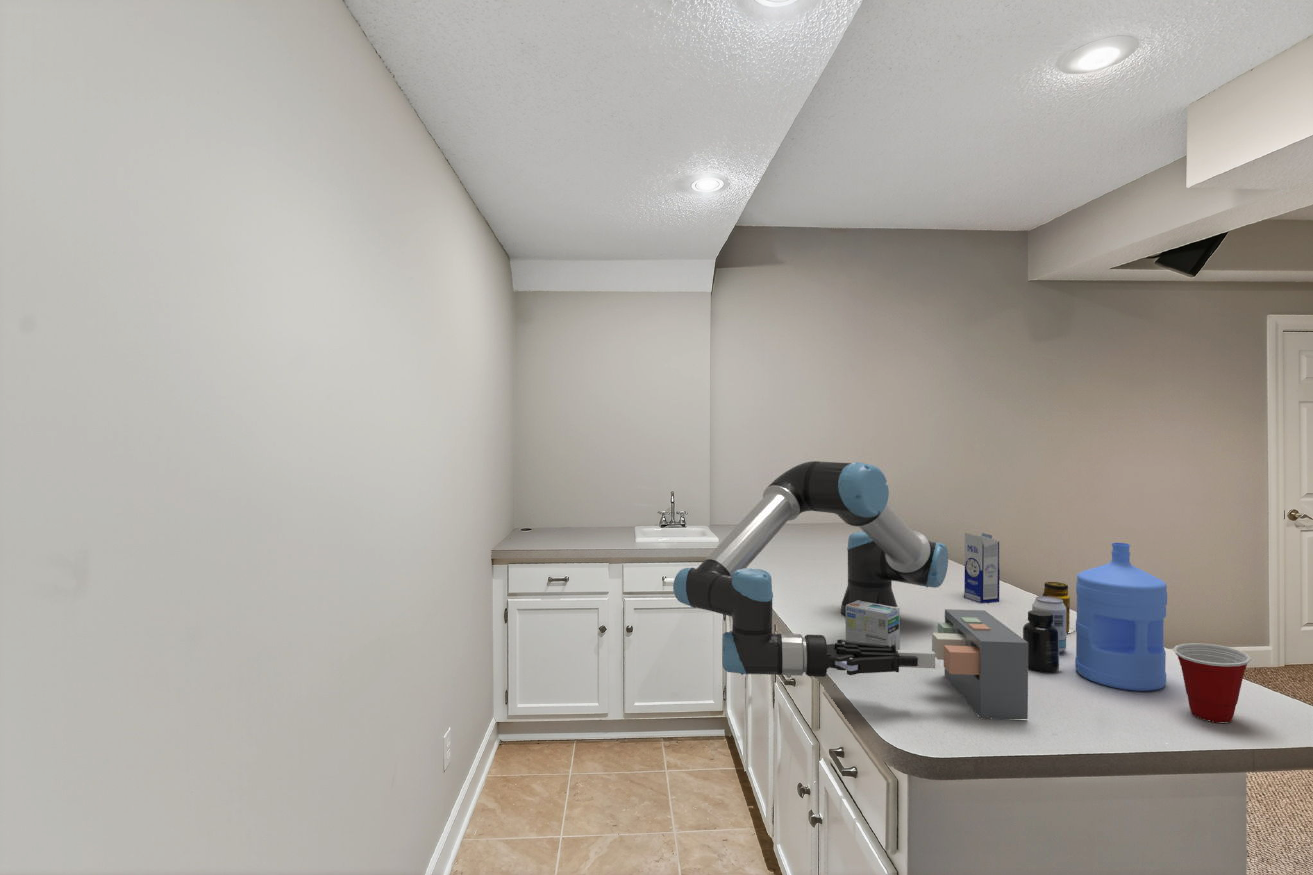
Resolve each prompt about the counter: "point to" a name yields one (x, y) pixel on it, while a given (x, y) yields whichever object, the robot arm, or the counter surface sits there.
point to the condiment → (1059, 596)
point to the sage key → (945, 628)
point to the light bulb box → (873, 624)
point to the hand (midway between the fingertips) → (933, 659)
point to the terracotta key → (962, 659)
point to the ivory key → (946, 642)
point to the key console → (992, 666)
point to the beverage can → (1054, 615)
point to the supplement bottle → (1042, 642)
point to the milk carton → (982, 568)
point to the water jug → (1121, 625)
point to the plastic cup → (1212, 678)
